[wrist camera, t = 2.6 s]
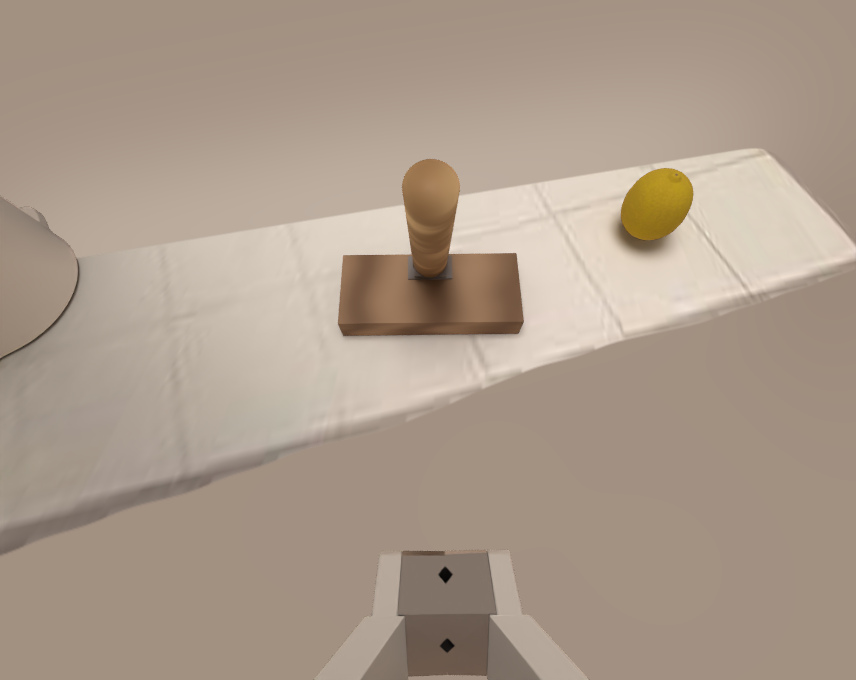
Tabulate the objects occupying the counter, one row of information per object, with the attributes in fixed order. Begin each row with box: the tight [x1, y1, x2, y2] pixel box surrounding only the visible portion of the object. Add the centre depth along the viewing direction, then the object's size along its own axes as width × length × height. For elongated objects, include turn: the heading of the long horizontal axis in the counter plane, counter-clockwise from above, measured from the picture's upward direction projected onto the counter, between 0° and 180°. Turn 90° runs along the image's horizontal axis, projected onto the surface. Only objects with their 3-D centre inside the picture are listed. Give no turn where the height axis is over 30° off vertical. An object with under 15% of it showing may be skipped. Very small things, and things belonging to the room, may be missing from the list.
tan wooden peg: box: [402, 159, 460, 278], centre depth 32 cm, size 3×3×17 cm
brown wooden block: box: [338, 253, 524, 336], centre depth 41 cm, size 16×7×3 cm, turn 91°
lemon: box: [621, 168, 693, 240], centre depth 41 cm, size 6×6×8 cm
